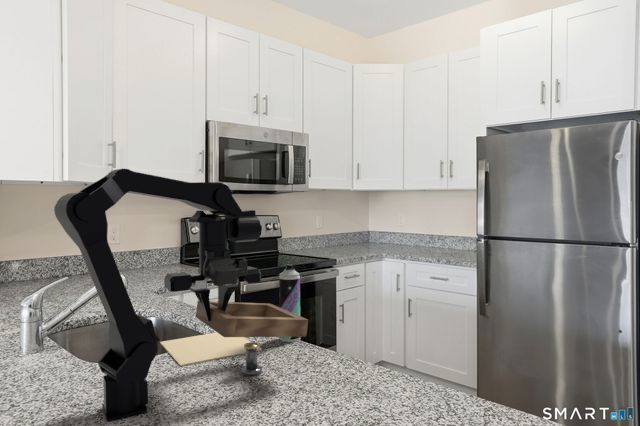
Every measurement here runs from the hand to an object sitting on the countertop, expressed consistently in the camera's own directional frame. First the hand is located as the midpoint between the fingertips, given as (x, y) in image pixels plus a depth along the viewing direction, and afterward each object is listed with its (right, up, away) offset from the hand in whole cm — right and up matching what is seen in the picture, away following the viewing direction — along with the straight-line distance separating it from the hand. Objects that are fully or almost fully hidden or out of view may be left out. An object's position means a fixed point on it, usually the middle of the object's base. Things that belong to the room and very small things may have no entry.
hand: (214, 320), depth 91 cm
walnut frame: (+6, -2, +4) cm, 8 cm away
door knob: (+7, -12, +4) cm, 15 cm away
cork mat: (-7, -12, +22) cm, 26 cm away
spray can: (+14, -12, +28) cm, 33 cm away
